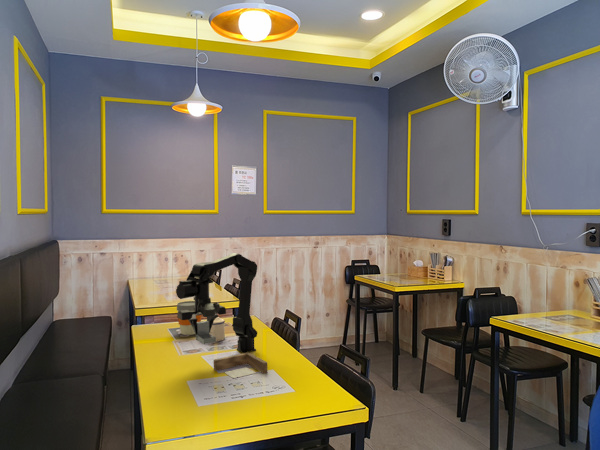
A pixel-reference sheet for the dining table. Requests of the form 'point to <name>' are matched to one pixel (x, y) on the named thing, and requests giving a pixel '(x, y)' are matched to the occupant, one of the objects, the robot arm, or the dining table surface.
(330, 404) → the dining table surface
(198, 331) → the bracket
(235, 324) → the robot arm
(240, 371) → the beige flat tile
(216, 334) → the teacup with lid
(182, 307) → the reusable coffee cup
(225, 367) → the brown l-shaped piece
